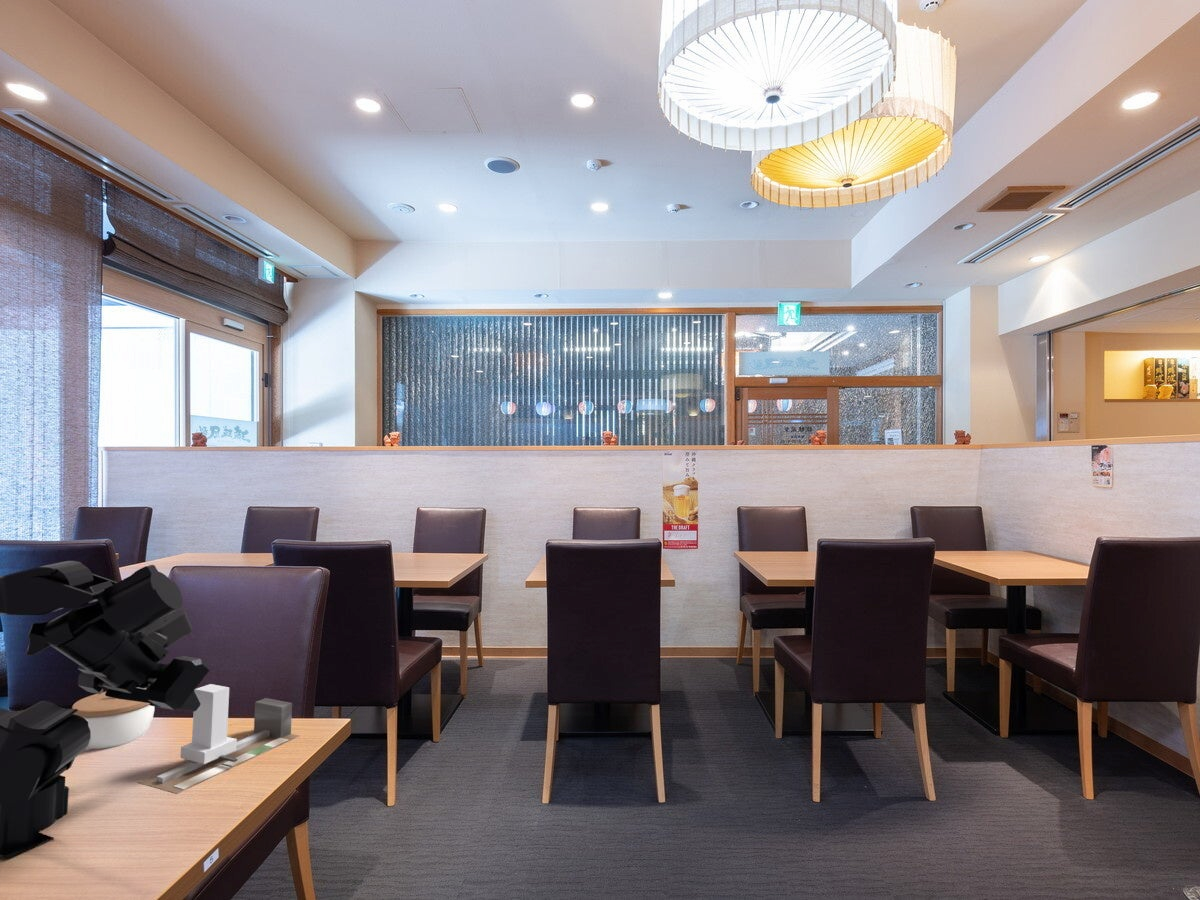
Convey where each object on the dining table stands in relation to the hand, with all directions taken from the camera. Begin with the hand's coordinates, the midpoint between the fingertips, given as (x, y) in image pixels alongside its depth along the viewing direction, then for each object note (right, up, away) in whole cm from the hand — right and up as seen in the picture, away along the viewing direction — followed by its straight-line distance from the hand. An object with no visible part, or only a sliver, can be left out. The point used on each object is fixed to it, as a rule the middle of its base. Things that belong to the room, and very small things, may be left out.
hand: (184, 705), depth 86 cm
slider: (+3, -9, +3) cm, 10 cm away
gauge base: (+3, -11, +5) cm, 13 cm away
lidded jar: (-19, -12, +11) cm, 25 cm away
